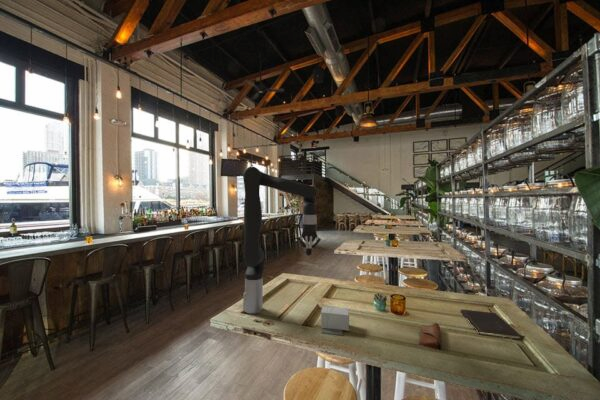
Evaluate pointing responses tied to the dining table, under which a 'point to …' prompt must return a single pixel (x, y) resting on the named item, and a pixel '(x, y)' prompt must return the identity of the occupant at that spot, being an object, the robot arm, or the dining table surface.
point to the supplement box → (335, 318)
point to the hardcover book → (489, 323)
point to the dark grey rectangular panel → (332, 331)
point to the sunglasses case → (430, 336)
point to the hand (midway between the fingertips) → (309, 255)
